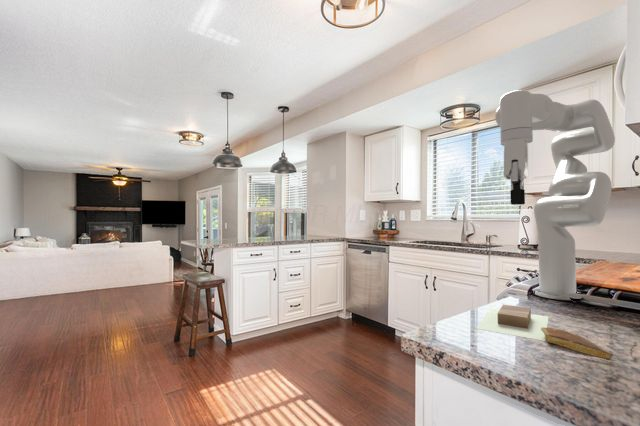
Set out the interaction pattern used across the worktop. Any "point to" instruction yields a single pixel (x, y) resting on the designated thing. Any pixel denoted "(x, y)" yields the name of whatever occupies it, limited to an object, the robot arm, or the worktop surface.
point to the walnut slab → (514, 316)
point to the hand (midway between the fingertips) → (517, 204)
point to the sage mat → (532, 332)
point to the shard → (574, 342)
